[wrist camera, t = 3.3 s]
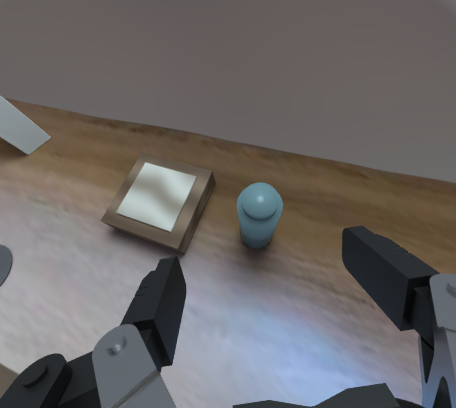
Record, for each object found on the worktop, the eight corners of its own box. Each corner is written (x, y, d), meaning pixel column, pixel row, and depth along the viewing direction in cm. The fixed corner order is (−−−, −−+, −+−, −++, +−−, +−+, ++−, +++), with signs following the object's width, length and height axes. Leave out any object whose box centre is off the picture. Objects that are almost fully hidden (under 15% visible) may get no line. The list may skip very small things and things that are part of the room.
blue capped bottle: (267, 253, 34) (277, 228, 22) (236, 243, 35) (229, 213, 23) (275, 223, 36) (289, 184, 24) (246, 214, 37) (244, 173, 25)
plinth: (185, 254, 35) (176, 248, 31) (114, 228, 38) (98, 220, 34) (215, 182, 40) (211, 169, 36) (151, 164, 43) (141, 151, 39)
